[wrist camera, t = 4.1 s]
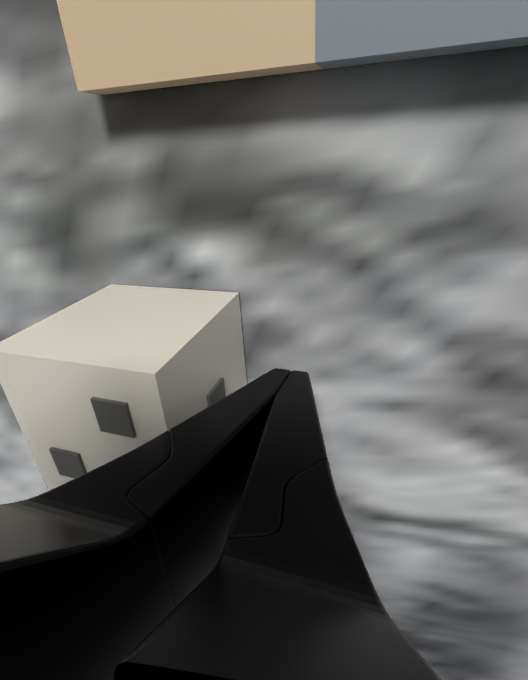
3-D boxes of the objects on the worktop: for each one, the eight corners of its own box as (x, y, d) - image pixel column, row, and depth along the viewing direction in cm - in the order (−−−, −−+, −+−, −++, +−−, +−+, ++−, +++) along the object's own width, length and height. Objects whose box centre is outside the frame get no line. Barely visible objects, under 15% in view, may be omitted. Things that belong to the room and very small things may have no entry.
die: (241, 292, 10) (155, 376, 6) (252, 414, 12) (189, 530, 8) (111, 284, 11) (-19, 351, 8) (139, 395, 13) (45, 490, 10)
